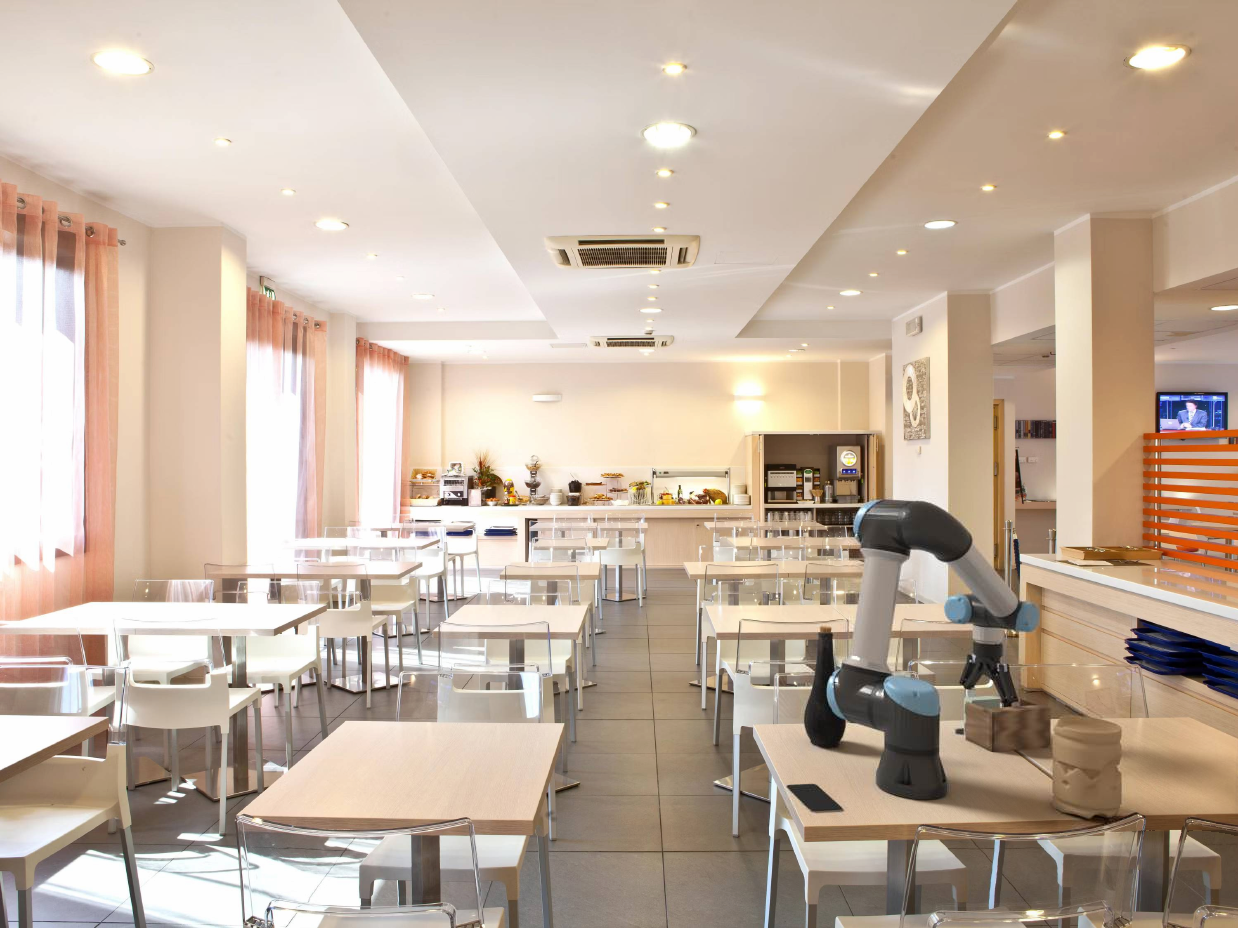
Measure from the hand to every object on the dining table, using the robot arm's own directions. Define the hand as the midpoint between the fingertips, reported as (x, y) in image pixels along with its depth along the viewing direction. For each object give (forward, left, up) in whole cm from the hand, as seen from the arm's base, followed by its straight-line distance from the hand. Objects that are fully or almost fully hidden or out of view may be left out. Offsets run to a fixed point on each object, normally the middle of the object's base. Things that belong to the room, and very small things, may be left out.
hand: (987, 719), depth 223 cm
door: (0, 0, -4) cm, 4 cm away
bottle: (-48, +2, -4) cm, 48 cm away
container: (-16, -49, -4) cm, 52 cm away
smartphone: (-69, -31, -4) cm, 75 cm away
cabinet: (0, -5, -4) cm, 6 cm away
